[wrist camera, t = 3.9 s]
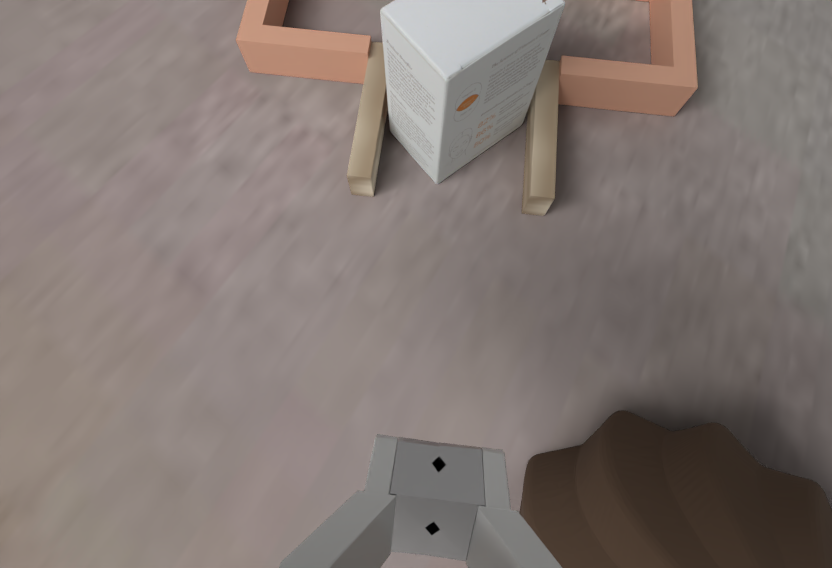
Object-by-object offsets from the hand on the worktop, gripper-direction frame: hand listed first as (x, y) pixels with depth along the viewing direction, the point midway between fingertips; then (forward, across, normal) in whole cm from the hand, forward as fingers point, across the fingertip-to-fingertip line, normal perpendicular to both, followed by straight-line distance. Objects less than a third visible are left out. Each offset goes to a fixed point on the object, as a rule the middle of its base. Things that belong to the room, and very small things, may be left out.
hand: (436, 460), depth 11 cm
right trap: (+34, -10, -10) cm, 36 cm away
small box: (+27, 0, -3) cm, 28 cm away
